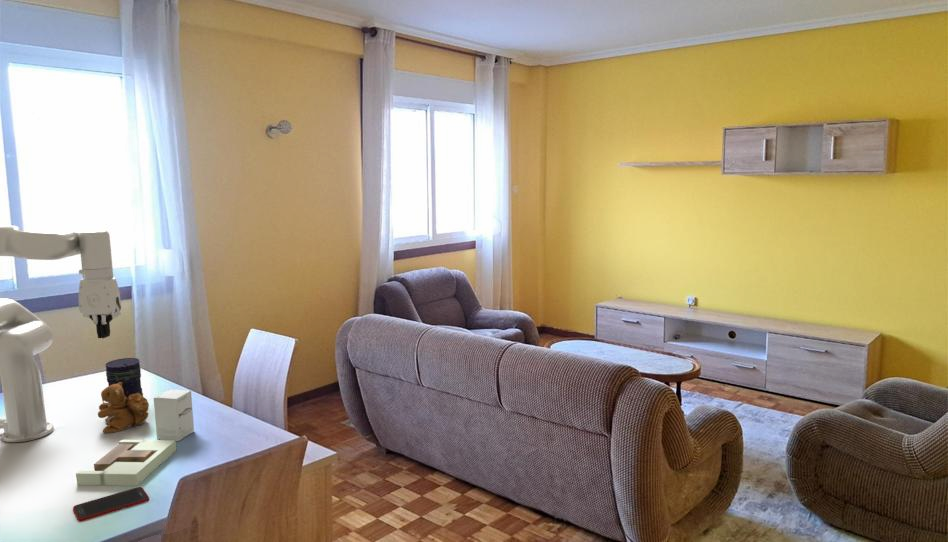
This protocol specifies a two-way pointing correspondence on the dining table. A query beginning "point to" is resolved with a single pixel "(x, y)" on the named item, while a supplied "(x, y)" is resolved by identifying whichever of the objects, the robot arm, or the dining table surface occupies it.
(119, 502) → the cell phone
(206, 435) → the dining table surface
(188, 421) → the supplement box
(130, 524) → the dining table surface
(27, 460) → the dining table surface
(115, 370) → the dark blue barrel
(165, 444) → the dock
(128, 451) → the tee
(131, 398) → the stuffed squirrel
